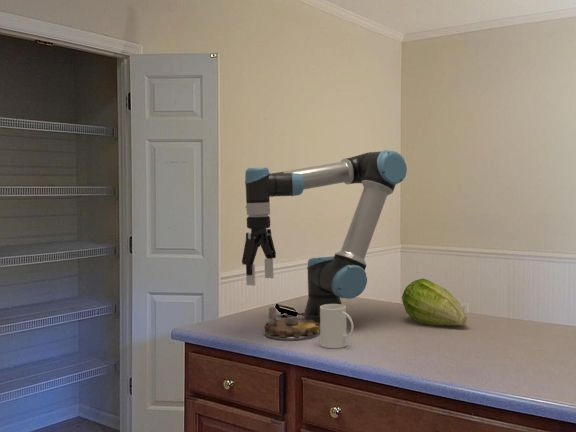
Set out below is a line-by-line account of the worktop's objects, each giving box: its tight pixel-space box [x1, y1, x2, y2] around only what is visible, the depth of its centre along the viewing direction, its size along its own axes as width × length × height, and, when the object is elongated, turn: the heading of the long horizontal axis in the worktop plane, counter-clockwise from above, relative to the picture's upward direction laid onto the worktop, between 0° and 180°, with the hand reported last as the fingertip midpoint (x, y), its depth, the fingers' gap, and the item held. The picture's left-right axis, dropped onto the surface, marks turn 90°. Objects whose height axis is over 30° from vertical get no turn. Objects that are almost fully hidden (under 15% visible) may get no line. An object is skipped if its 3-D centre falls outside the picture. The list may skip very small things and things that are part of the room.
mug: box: [319, 304, 354, 349], centre depth 181 cm, size 12×8×12 cm
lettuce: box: [401, 278, 468, 326], centre depth 206 cm, size 15×25×16 cm
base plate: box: [264, 329, 320, 342], centre depth 197 cm, size 19×19×1 cm
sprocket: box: [264, 306, 320, 337], centre depth 197 cm, size 18×18×8 cm
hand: (260, 281), depth 190 cm, fingers open, 13 cm apart
